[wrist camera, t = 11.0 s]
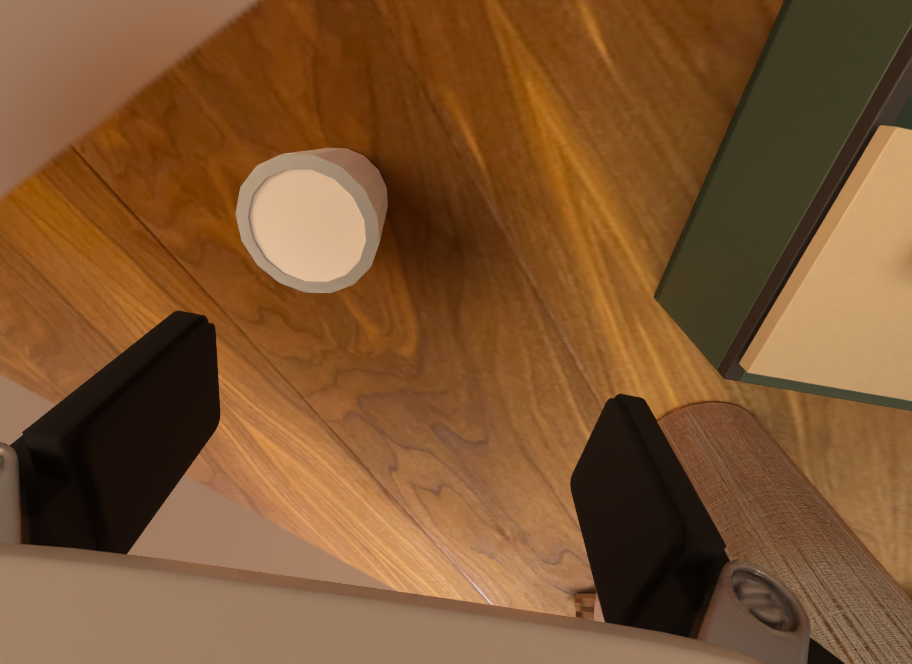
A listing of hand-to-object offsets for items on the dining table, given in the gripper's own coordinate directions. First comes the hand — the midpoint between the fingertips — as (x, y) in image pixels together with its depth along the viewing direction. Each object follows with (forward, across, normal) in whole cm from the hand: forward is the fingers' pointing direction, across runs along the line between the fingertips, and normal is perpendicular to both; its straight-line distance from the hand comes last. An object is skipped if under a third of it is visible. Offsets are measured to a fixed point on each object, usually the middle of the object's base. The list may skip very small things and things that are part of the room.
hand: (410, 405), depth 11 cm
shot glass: (+20, +6, +1) cm, 21 cm away
